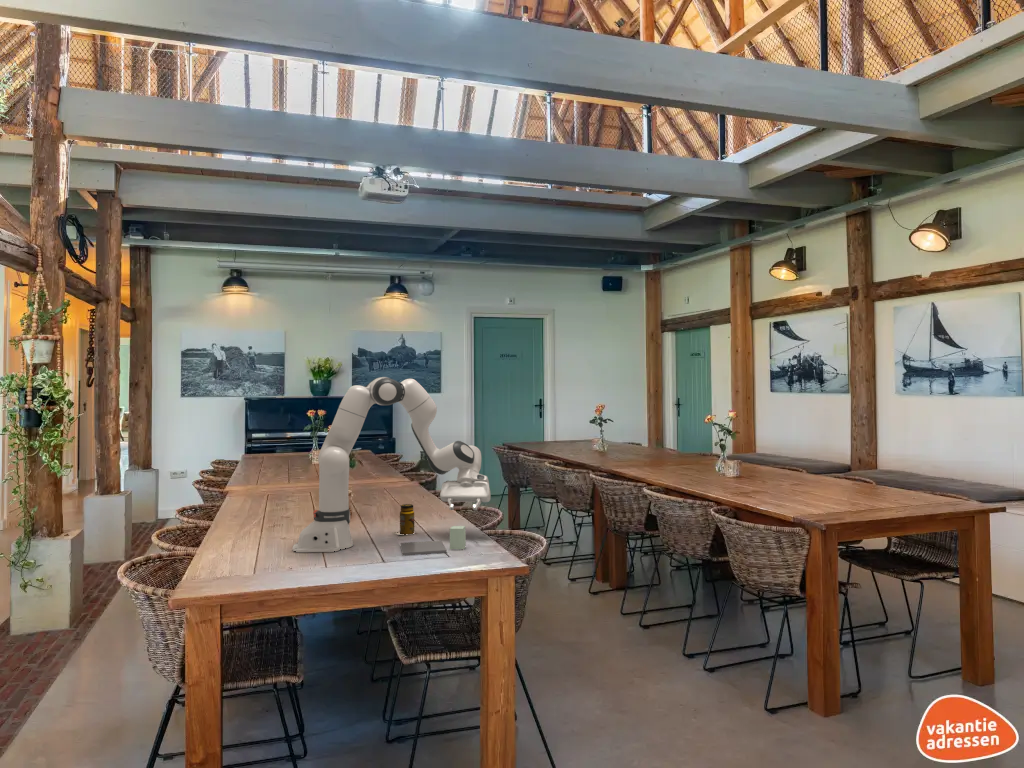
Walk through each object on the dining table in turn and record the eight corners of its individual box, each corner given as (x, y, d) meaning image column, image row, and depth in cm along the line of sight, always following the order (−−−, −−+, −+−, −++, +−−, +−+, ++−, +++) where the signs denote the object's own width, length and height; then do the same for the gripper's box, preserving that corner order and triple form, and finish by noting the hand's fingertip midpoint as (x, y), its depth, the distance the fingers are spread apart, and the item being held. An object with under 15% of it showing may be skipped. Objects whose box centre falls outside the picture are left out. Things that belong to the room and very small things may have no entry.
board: (402, 555, 251) (402, 552, 251) (400, 545, 267) (400, 543, 267) (446, 552, 254) (446, 550, 254) (441, 543, 270) (441, 540, 270)
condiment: (418, 534, 287) (417, 505, 287) (399, 536, 282) (399, 507, 282) (410, 531, 293) (410, 502, 293) (392, 533, 288) (391, 505, 288)
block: (449, 549, 259) (449, 528, 259) (452, 546, 264) (452, 525, 264) (462, 550, 258) (462, 528, 258) (465, 547, 263) (465, 526, 263)
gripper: (441, 476, 280) (435, 504, 271) (491, 476, 278) (487, 505, 268) (444, 485, 285) (438, 513, 275) (493, 485, 282) (489, 514, 272)
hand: (463, 509), depth 272 cm, fingers open, 8 cm apart
